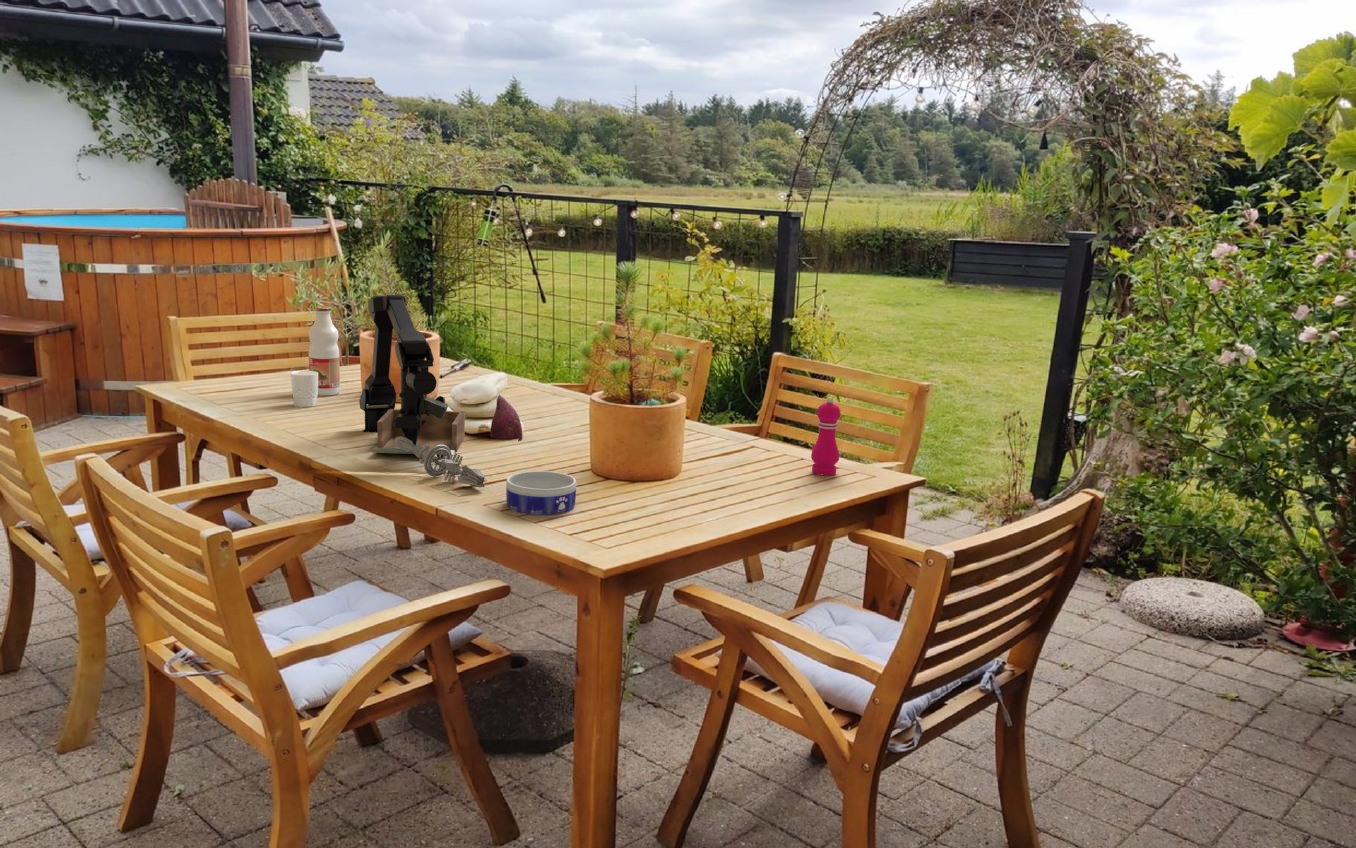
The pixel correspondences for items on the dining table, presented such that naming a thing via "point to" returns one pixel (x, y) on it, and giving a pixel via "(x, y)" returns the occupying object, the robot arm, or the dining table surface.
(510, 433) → the vegetable
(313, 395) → the white cup
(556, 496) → the dog bowl
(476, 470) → the spaceship
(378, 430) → the crate
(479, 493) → the dining table surface
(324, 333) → the fruit juice
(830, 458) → the pepper mill
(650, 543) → the dining table surface
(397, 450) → the tailgate
